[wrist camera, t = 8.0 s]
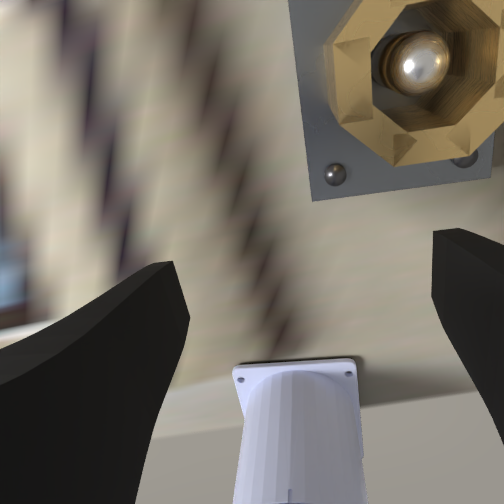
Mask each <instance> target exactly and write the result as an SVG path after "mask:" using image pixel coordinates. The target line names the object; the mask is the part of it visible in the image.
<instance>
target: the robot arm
mask: <svg viewBox="0 0 504 504" xmlns="http://www.w3.org/2000/svg"><path fill="white" fill-rule="evenodd" d="M431 297H432V300H433V302H434V305H435V308H436V311H437V314H438V316H439V319H440V321H441V324H442V326H443V328H444V330H445V332H446V334H447V336H448V338H449V339H450V341H451V343H452V345H453V347H454V349H455V350H456V352H457V354H458V356H459V357H460V359H461V361H462V363H463V365H464V366H465V368H466V370H467V372H468V373H469V375H470V377H471V379H472V381H473V382H474V384H475V386H476V388H477V389H478V391H479V393H480V395H481V397H482V398H483V400H484V402H485V404H486V406H487V408H488V410H489V412H490V414H491V416H492V418H493V421H494V423H495V425H496V428H497V430H498V433H499V435H500V437H501V439H502V442H503V444H504V245H502V244H500V243H497V242H495V241H493V240H490V239H488V238H485V237H483V236H480V235H478V234H475V233H473V232H470V231H467V230H464V229H460V228H455V229H446V230H438V231H433V256H432V292H431ZM189 321H190V315H189V312H188V308H187V305H186V302H185V299H184V296H183V292H182V289H181V286H180V283H179V279H178V276H177V273H176V270H175V266H174V263H173V261H167V262H158V263H152V264H150V265H148V266H146V267H144V268H143V269H141V270H139V271H138V272H136V273H134V274H133V275H131V276H130V277H128V278H127V279H125V280H124V281H122V282H120V283H119V284H117V285H116V286H114V287H113V288H111V289H110V290H108V291H107V292H105V293H104V294H102V295H101V296H99V297H98V298H96V299H94V300H93V301H91V302H89V303H88V304H86V305H85V306H83V307H81V308H80V309H78V310H76V311H75V312H73V313H72V314H70V315H68V316H67V317H65V318H63V319H61V320H59V321H58V322H56V323H54V324H52V325H50V326H48V327H46V328H44V329H42V330H41V331H39V332H37V333H35V334H33V335H31V336H29V337H27V338H25V339H22V340H20V341H18V342H16V343H13V344H11V345H9V346H6V347H4V348H2V349H0V504H135V501H136V496H137V492H138V487H139V484H140V479H141V475H142V471H143V467H144V462H145V459H146V454H147V451H148V447H149V444H150V440H151V436H152V432H153V429H154V426H155V423H156V420H157V417H158V414H159V411H160V408H161V406H162V403H163V401H164V398H165V395H166V393H167V390H168V388H169V385H170V382H171V380H172V377H173V375H174V372H175V370H176V367H177V364H178V361H179V359H180V356H181V353H182V351H183V348H184V344H185V340H186V336H187V331H188V326H189ZM347 371H351V372H349V373H347ZM232 375H233V378H234V382H235V386H236V389H237V393H238V397H239V400H240V404H241V408H242V412H243V415H244V419H245V422H244V429H243V437H242V443H241V450H240V456H239V464H238V471H237V477H236V485H235V492H234V498H233V504H368V498H367V491H366V485H365V478H364V472H363V465H362V458H363V456H364V453H363V442H362V429H361V417H360V404H359V392H358V380H357V368H356V363H355V361H354V360H353V359H350V358H343V359H327V360H311V361H295V362H279V363H263V364H247V365H237V366H235V367H234V368H233V372H232ZM239 377H243V379H242V378H239Z"/></svg>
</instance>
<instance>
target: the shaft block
mask: <svg viewBox="0 0 504 504" xmlns="http://www.w3.org/2000/svg"><path fill="white" fill-rule="evenodd" d="M353 1H354V0H288V3H289V12H290V20H291V28H292V37H293V45H294V54H295V62H296V70H297V79H298V87H299V96H300V104H301V112H302V121H303V129H304V138H305V146H306V154H307V163H308V171H309V180H310V188H311V196H312V202H313V201H320V200H328V199H335V198H343V197H350V196H358V195H365V194H372V193H380V192H387V191H395V190H402V189H410V188H417V187H425V186H432V185H440V184H447V183H455V182H462V181H470V180H477V179H484V178H490V177H491V166H492V156H493V145H494V134H495V131H494V132H493V133H492V134H491V135H490V136H489V137H488V138H487V139H486V140H485V141H484V142H483V143H482V144H481V145H480V146H479V147H478V148H477V149H476V150H475V151H474V152H473V153H472V154H471V155H470V156H466V157H459V158H453V159H446V160H439V161H432V162H425V163H418V164H411V165H405V166H398V167H393V166H392V165H390V164H389V163H388V162H387V161H385V160H384V159H383V158H381V157H380V156H379V155H378V154H376V153H375V152H374V151H372V150H371V149H370V148H369V147H367V146H366V145H365V144H363V143H362V142H361V141H359V140H358V139H357V138H356V137H354V136H353V135H352V134H350V133H349V132H348V131H347V130H345V129H344V128H343V127H341V126H340V125H339V123H338V122H337V120H336V118H335V116H334V114H333V112H332V110H331V108H330V107H329V104H328V93H327V82H326V71H325V60H324V49H323V45H324V43H325V42H326V40H327V39H328V38H329V36H330V35H331V33H332V32H333V30H334V29H335V27H336V26H337V24H338V23H339V22H340V20H341V19H342V17H343V16H344V14H345V13H346V11H347V10H348V8H349V7H350V6H351V4H352V3H353ZM370 57H371V80H372V103H373V105H374V106H375V107H376V108H377V109H379V110H385V109H390V108H396V107H402V106H408V105H414V104H415V103H416V102H417V101H418V99H419V98H420V97H421V96H422V95H424V94H427V93H429V92H431V91H432V90H434V89H435V88H436V87H437V86H438V85H439V84H440V83H441V82H442V81H443V79H444V78H445V76H446V74H447V72H448V69H449V66H450V50H449V47H448V44H447V43H446V41H445V40H444V39H443V38H442V33H441V32H440V31H438V30H437V29H436V28H435V27H434V26H433V25H432V24H431V23H429V22H428V21H427V20H426V19H425V18H424V17H423V16H422V15H420V14H419V13H418V12H417V11H416V10H415V9H412V10H408V11H403V12H401V13H400V14H399V16H398V17H397V18H396V20H395V21H394V22H393V24H392V25H391V26H390V27H389V29H388V30H387V31H386V33H385V34H384V35H383V37H382V38H381V39H380V41H379V42H378V43H377V45H376V46H375V47H374V49H373V50H372V51H371V53H370Z"/></svg>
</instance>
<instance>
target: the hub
mask: <svg viewBox="0 0 504 504" xmlns="http://www.w3.org/2000/svg"><path fill="white" fill-rule="evenodd" d="M412 9H415V10H416V11H417V12H418V13H419V14H420V15H422V16H423V17H424V18H425V19H426V20H427V21H428V22H429V23H431V24H432V25H433V26H434V27H435V28H436V29H437V30H438V31H440V32H441V33H442V38H443V39H444V40H445V41H446V43H447V44H448V47H449V50H450V66H449V69H448V72H447V74H446V76H445V78H444V79H443V81H442V82H441V83H440V84H439V85H438V86H437V87H436V88H435V89H434V90H432V91H431V92H429V93H427V94H424V95H422V96H421V97H420V98H419V99H418V101H417V102H416V103H415V104H414V105H408V106H402V107H396V108H390V109H385V110H379V109H377V108H376V107H375V106H374V105H373V103H372V80H371V57H370V53H371V51H372V50H373V49H374V47H375V46H376V45H377V43H378V42H379V41H380V39H381V38H382V37H383V35H384V34H385V33H386V31H387V30H388V29H389V27H390V26H391V25H392V24H393V22H394V21H395V20H396V18H397V17H398V16H399V14H400V13H401V12H403V11H408V10H412ZM323 49H324V60H325V71H326V82H327V93H328V104H329V107H330V108H331V110H332V112H333V114H334V116H335V118H336V120H337V122H338V123H339V125H340V126H341V127H343V128H344V129H345V130H347V131H348V132H349V133H350V134H352V135H353V136H354V137H356V138H357V139H358V140H359V141H361V142H362V143H363V144H365V145H366V146H367V147H369V148H370V149H371V150H372V151H374V152H375V153H376V154H378V155H379V156H380V157H381V158H383V159H384V160H385V161H387V162H388V163H389V164H390V165H392V166H393V167H398V166H405V165H411V164H418V163H425V162H432V161H439V160H446V159H453V158H459V157H466V156H470V155H471V154H472V153H473V152H474V151H475V150H476V149H477V148H478V147H479V146H480V145H481V144H482V143H483V142H484V141H485V140H486V139H487V138H488V137H489V136H490V135H491V134H492V133H493V132H494V131H495V130H496V129H497V128H498V127H499V126H500V125H501V124H502V123H503V122H504V0H354V1H353V3H352V4H351V6H350V7H349V8H348V10H347V11H346V13H345V14H344V16H343V17H342V19H341V20H340V22H339V23H338V24H337V26H336V27H335V29H334V30H333V32H332V33H331V35H330V36H329V38H328V39H327V40H326V42H325V43H324V45H323Z"/></svg>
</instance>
